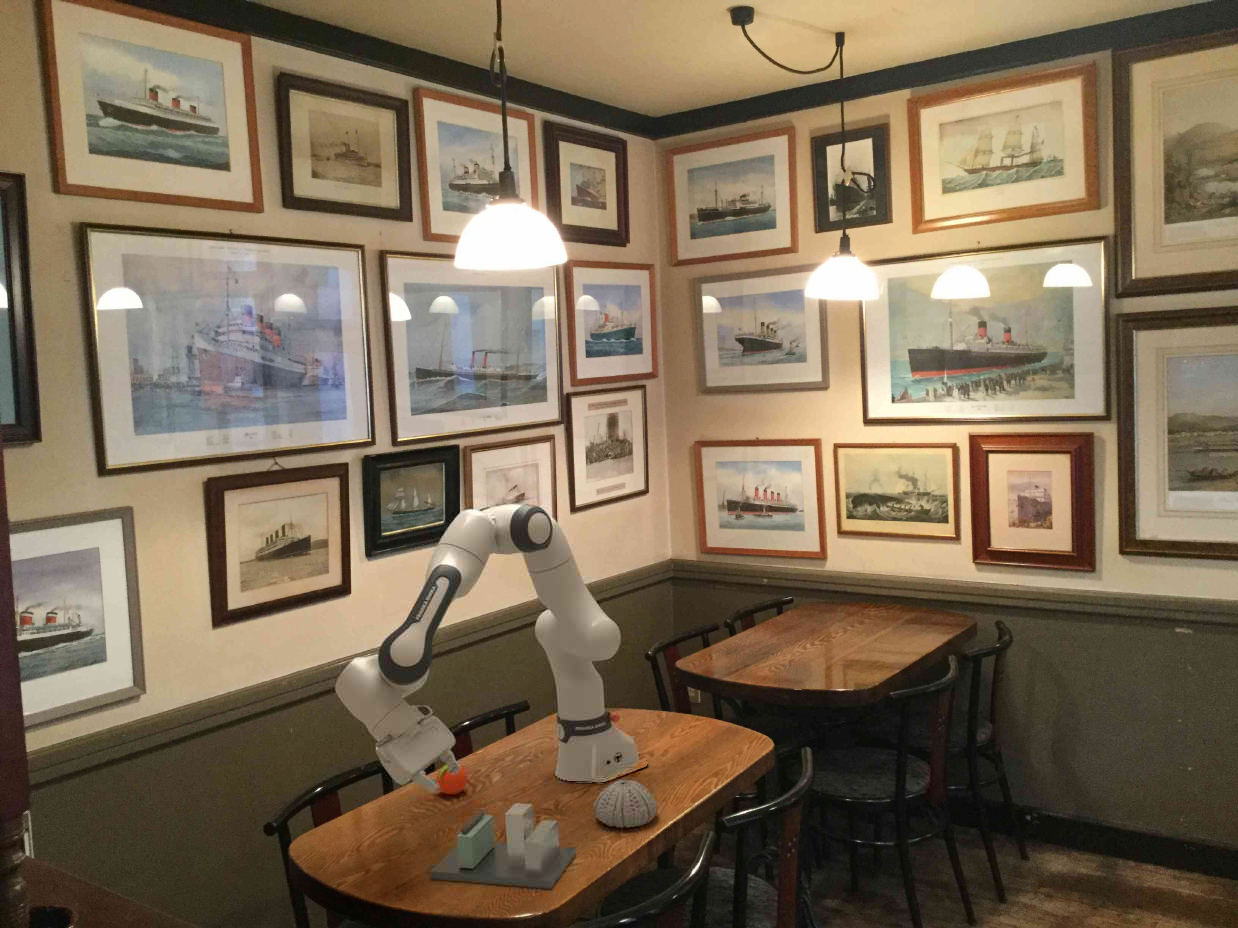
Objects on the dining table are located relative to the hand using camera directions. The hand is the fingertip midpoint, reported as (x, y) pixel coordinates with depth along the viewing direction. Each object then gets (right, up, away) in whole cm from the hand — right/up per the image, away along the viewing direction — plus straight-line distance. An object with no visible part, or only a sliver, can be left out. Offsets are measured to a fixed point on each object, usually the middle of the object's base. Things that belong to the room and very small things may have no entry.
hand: (447, 780), depth 193 cm
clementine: (-5, -15, +37) cm, 40 cm away
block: (+15, -14, -3) cm, 21 cm away
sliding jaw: (+6, -14, 0) cm, 16 cm away
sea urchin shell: (+35, -14, +17) cm, 41 cm away
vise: (+11, -16, -2) cm, 19 cm away
